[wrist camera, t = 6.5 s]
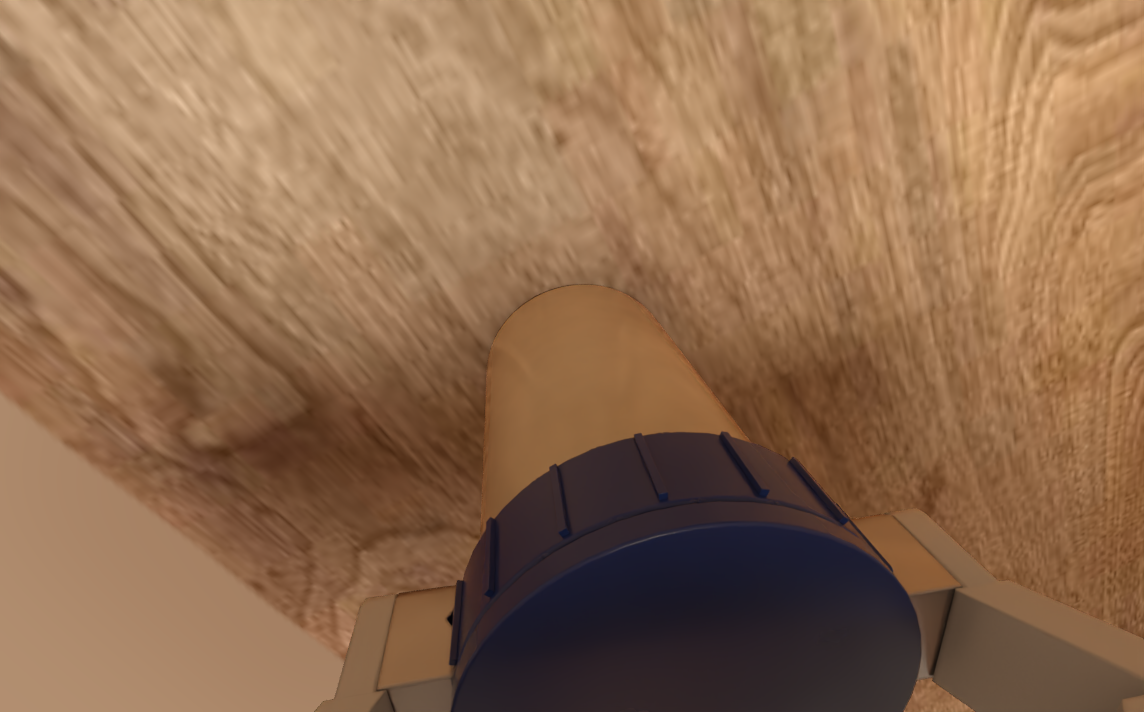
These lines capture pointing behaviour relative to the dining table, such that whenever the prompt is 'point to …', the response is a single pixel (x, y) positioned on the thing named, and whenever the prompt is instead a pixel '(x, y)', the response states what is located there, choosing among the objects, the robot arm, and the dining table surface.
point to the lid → (680, 591)
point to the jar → (583, 386)
